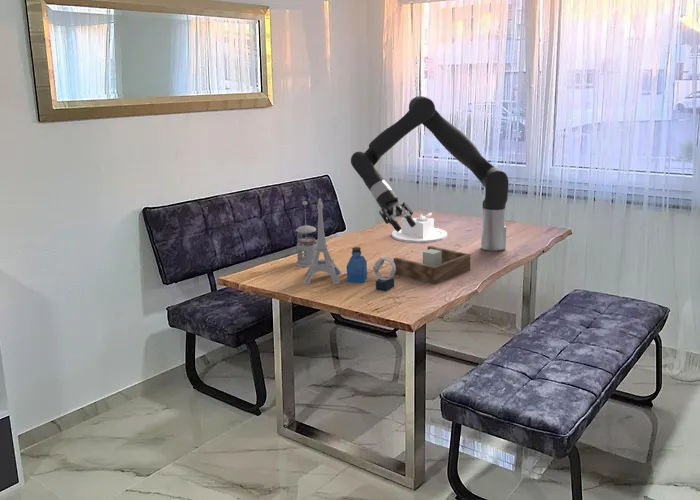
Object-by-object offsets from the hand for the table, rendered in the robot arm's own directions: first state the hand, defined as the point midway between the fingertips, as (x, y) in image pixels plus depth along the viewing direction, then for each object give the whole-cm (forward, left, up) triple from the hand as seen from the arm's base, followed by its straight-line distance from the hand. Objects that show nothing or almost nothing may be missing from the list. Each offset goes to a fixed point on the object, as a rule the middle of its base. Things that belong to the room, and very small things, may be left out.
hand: (406, 228), depth 257 cm
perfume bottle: (+22, +13, -15) cm, 29 cm away
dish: (-16, -43, -16) cm, 49 cm away
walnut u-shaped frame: (-7, +10, -15) cm, 19 cm away
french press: (+38, -13, -15) cm, 43 cm away
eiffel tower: (+34, +8, -15) cm, 38 cm away
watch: (+14, +24, -15) cm, 31 cm away
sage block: (-7, +10, -15) cm, 19 cm away
